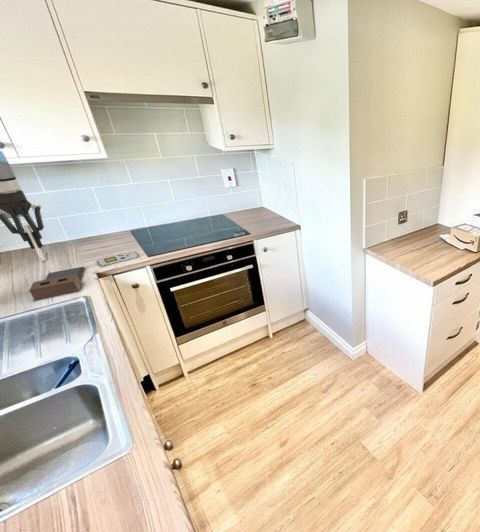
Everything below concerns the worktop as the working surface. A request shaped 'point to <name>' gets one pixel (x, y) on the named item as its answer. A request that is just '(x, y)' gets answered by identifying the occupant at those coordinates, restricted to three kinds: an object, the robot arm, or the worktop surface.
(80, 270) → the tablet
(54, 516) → the worktop surface
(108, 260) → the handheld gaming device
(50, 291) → the slotted brown block
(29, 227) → the stylus
